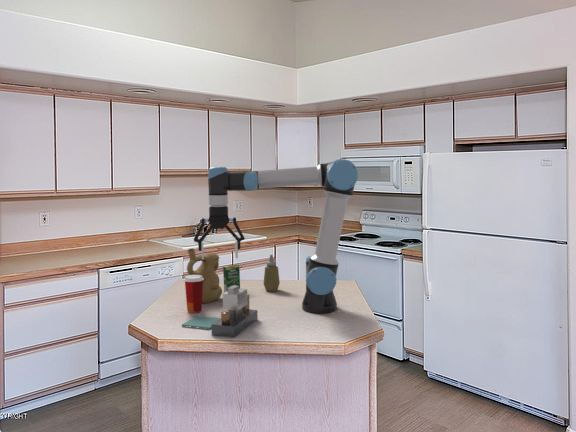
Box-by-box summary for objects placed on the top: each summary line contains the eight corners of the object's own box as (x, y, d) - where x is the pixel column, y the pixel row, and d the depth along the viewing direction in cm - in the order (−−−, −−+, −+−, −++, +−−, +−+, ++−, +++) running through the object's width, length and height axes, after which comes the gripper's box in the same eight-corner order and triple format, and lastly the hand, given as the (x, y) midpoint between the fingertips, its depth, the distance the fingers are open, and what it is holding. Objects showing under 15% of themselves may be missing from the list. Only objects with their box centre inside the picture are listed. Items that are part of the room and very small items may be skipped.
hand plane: (257, 319, 195) (257, 295, 194) (234, 337, 174) (233, 310, 173) (237, 317, 198) (236, 293, 197) (211, 335, 177) (211, 308, 176)
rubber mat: (223, 320, 194) (223, 318, 194) (209, 329, 183) (209, 327, 183) (197, 317, 198) (197, 315, 198) (181, 326, 187) (181, 324, 187)
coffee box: (226, 293, 237) (225, 267, 236) (223, 292, 239) (222, 266, 238) (240, 291, 241) (240, 265, 240) (237, 289, 244) (237, 264, 243)
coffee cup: (205, 308, 212) (204, 274, 211) (202, 313, 204) (202, 278, 202) (186, 308, 212) (185, 274, 210) (182, 313, 204) (181, 278, 202)
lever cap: (247, 304, 189) (247, 284, 188) (237, 310, 180) (237, 289, 179) (233, 302, 191) (233, 282, 190) (223, 309, 182) (222, 288, 181)
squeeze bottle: (270, 287, 248) (270, 253, 246) (283, 290, 243) (282, 254, 241) (260, 290, 241) (259, 255, 240) (272, 293, 236) (272, 257, 235)
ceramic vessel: (231, 297, 229) (230, 245, 226) (202, 307, 213) (200, 251, 210) (204, 292, 238) (203, 242, 236) (174, 302, 222) (173, 248, 220)
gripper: (248, 204, 200) (249, 255, 202) (186, 205, 195) (188, 257, 197) (250, 205, 192) (251, 258, 194) (186, 207, 188) (188, 261, 190)
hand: (219, 258), depth 196 cm, fingers open, 13 cm apart
